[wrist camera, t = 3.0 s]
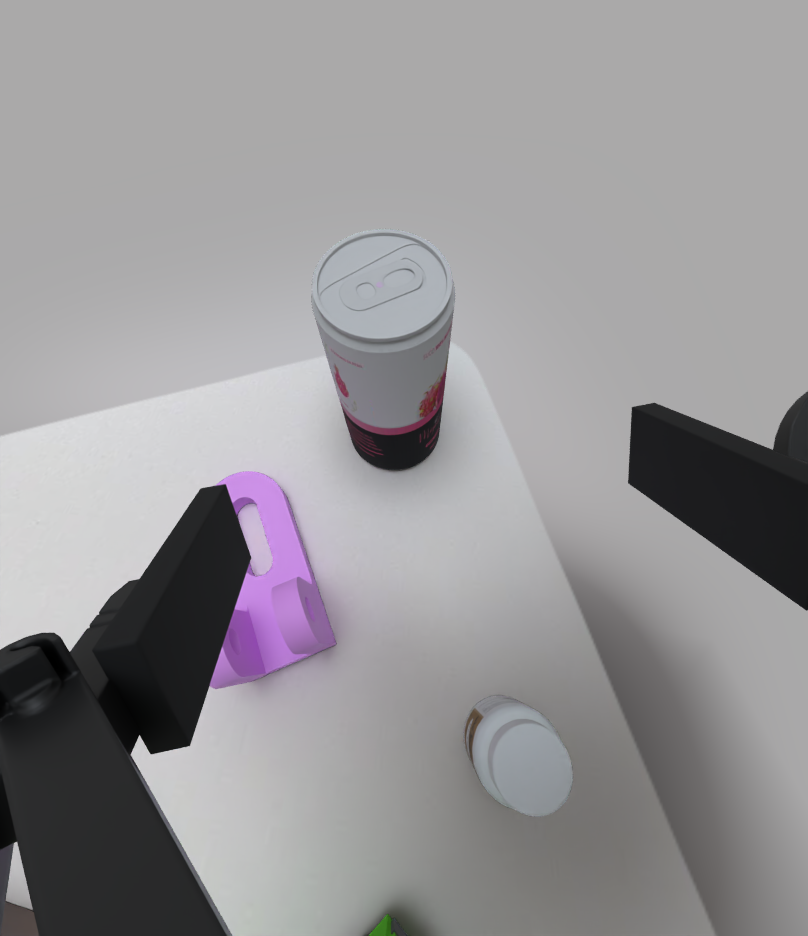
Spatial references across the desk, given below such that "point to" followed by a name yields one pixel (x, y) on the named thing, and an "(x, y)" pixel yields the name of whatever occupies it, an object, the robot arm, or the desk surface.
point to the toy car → (388, 928)
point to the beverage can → (387, 340)
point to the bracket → (272, 594)
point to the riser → (18, 921)
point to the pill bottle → (518, 756)
